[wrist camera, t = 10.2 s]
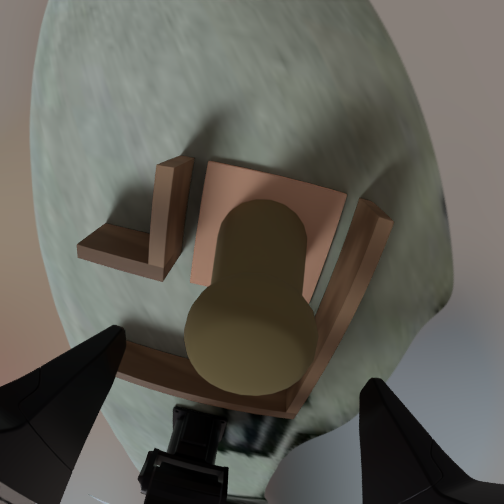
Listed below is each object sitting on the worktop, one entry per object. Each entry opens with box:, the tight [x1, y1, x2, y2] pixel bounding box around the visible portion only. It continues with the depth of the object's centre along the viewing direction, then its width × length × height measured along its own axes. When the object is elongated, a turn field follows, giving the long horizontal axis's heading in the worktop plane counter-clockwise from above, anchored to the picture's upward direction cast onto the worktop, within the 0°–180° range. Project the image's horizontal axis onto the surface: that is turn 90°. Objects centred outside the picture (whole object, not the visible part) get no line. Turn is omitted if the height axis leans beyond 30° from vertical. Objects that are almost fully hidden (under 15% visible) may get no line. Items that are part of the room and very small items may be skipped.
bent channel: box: [77, 156, 394, 419], centre depth 20 cm, size 19×18×4 cm
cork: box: [184, 199, 318, 396], centre depth 14 cm, size 6×6×11 cm
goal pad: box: [190, 161, 347, 304], centre depth 19 cm, size 9×9×1 cm
